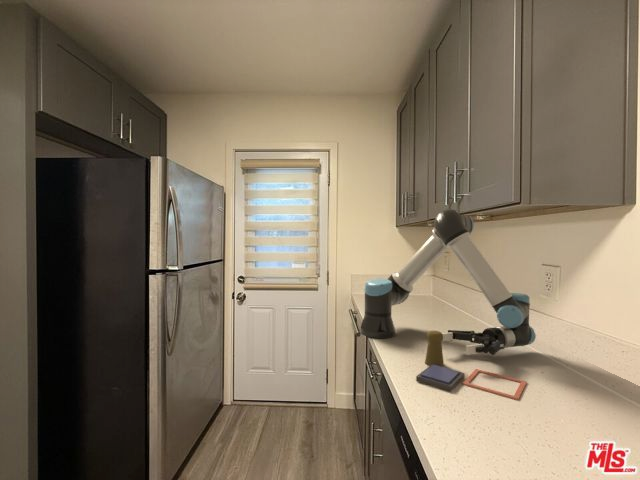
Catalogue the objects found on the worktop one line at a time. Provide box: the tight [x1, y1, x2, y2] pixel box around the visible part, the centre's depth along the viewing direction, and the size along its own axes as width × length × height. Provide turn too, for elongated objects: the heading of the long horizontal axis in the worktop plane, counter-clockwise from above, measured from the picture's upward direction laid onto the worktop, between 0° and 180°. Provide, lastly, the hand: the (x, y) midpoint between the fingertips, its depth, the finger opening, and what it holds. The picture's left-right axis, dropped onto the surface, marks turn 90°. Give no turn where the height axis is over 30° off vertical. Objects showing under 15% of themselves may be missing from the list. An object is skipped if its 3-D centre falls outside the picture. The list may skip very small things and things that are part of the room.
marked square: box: [462, 368, 528, 401], centre depth 97 cm, size 14×14×1 cm
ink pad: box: [415, 365, 465, 393], centre depth 99 cm, size 12×10×2 cm
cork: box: [424, 330, 445, 367], centre depth 111 cm, size 6×6×11 cm
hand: (451, 343), depth 113 cm, fingers open, 13 cm apart
